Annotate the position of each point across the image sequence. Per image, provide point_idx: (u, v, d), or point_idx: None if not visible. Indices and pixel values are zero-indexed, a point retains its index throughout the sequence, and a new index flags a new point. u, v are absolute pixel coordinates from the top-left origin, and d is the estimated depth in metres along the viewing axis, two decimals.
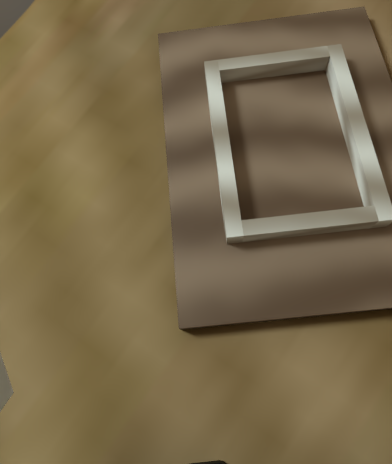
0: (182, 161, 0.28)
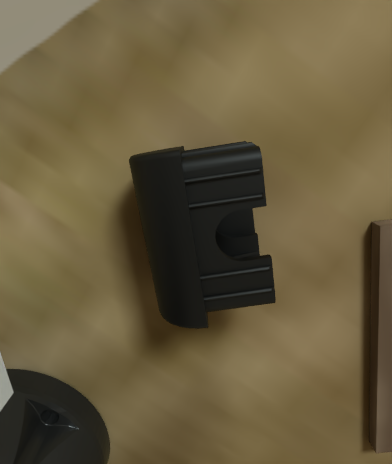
0: None
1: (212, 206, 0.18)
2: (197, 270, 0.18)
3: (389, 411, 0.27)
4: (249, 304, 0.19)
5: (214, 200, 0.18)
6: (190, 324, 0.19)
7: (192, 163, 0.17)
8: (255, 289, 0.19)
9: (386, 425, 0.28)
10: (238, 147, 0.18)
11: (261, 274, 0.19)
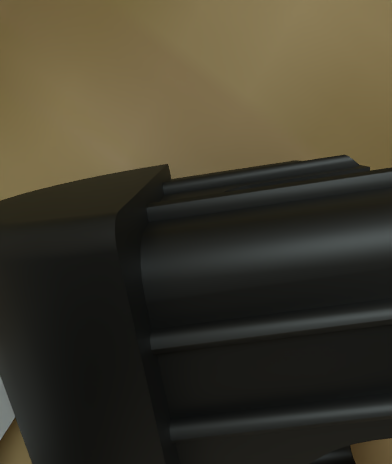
0: None
1: None
2: None
3: None
4: None
5: (276, 406, 0.04)
6: None
7: (188, 264, 0.04)
8: None
9: None
10: (367, 185, 0.05)
11: None
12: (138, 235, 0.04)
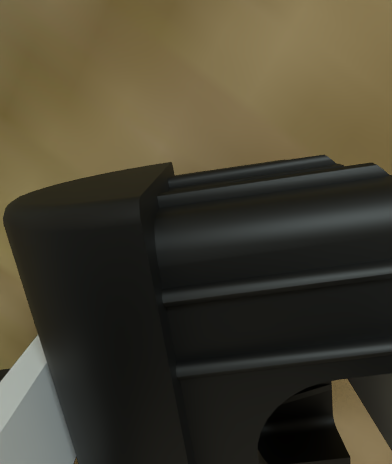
0: None
1: None
2: None
3: None
4: None
5: (259, 351, 0.05)
6: None
7: (190, 238, 0.05)
8: None
9: None
10: (333, 179, 0.06)
11: None
12: (152, 216, 0.05)
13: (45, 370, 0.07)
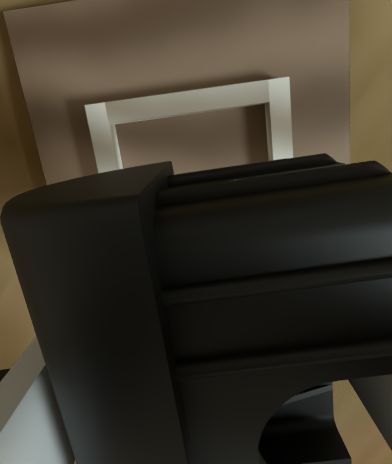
0: None
1: (253, 371, 0.05)
2: None
3: (77, 19, 0.20)
4: None
5: (260, 351, 0.05)
6: None
7: (190, 236, 0.05)
8: None
9: (53, 19, 0.20)
10: (335, 177, 0.06)
11: None
12: (152, 214, 0.05)
13: (45, 370, 0.07)
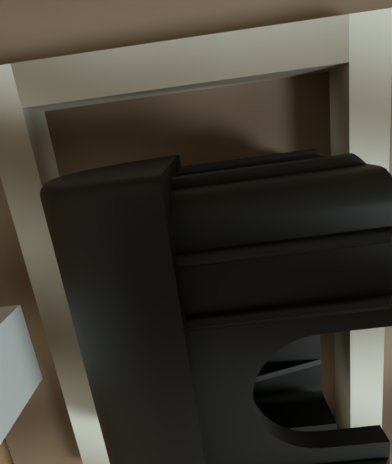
0: None
1: (249, 324, 0.07)
2: None
3: None
4: None
5: (255, 308, 0.07)
6: None
7: (199, 212, 0.06)
8: None
9: None
10: (319, 166, 0.07)
11: None
12: (168, 193, 0.06)
13: None
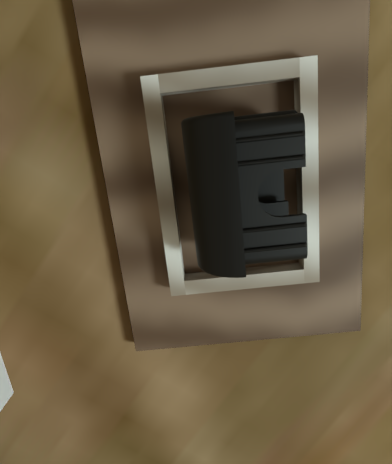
0: (348, 163, 0.26)
1: (257, 165, 0.20)
2: (241, 222, 0.20)
3: (135, 2, 0.23)
4: (283, 258, 0.22)
5: (259, 159, 0.20)
6: (230, 273, 0.21)
7: (242, 125, 0.19)
8: (290, 244, 0.21)
9: (114, 2, 0.23)
10: (282, 113, 0.20)
11: (296, 230, 0.21)
12: None
13: None
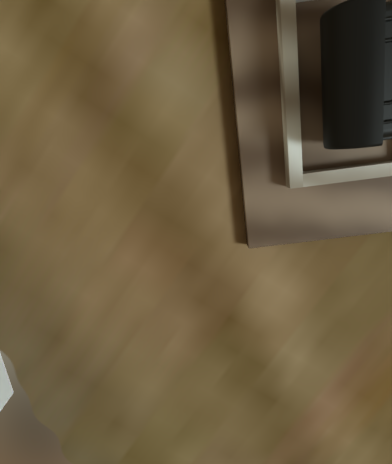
0: None
1: None
2: (383, 93, 0.24)
3: None
4: None
5: None
6: (368, 142, 0.25)
7: (388, 5, 0.23)
8: None
9: None
10: None
11: None
12: None
13: None
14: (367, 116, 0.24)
